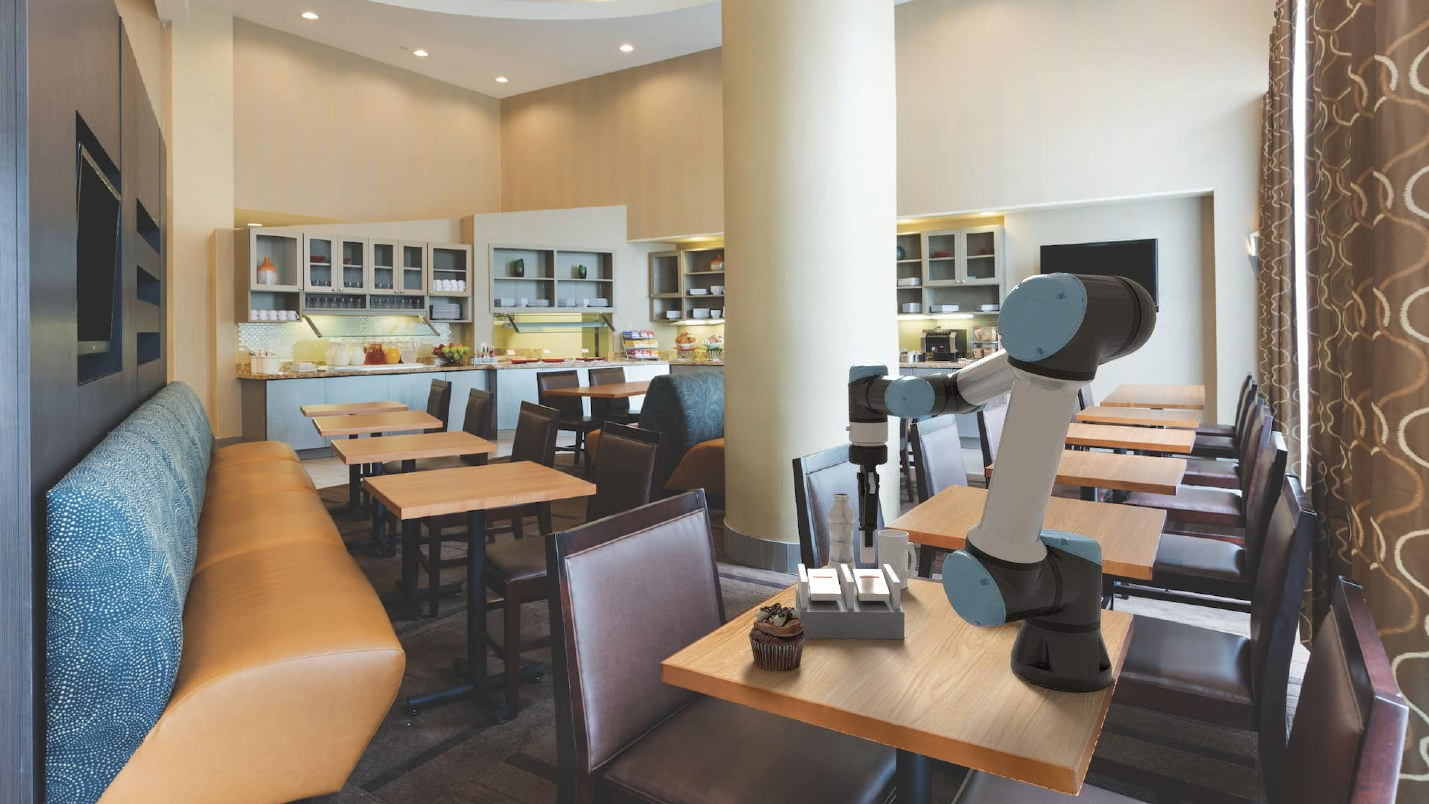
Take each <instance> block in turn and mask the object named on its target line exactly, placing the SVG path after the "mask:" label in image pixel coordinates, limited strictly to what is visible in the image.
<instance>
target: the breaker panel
mask: <svg viewBox="0 0 1429 804" xmlns="http://www.w3.org/2000/svg"><path fill="white" fill-rule="evenodd" d="M883 577H884V579H885V582H886V585H887V588H888V591H889V601H859V597H858V593H857V590H856V586H855V582H854V578H852V576H851V574H850V571H849V569H848V567H847V564H840V581H839V582H840V584H839V588H840V592H841V601H834V600H811V596H810V589H809V582H808V574H807V572H806V567H805V564H804V563H797V585H795V609H798V610H799V618H800V620H801V621H802V624H803V628H804V633H805V639H827V640H828V639H839V640H840V639H842V640H843V639H845V640H846V639H847V640H849V639H850V640H851V639H852V640H857V639H858V640H859V639H860V640H863V639H865V640H905V611H904V609H903V607H902V605H901V589H900V581H899V579H898V578H897V576H896V574H895V573H894V571H893V570H892V568H891V566H890V565H889V564H883Z"/></svg>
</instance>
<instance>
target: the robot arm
mask: <svg viewBox="0 0 1429 804" xmlns="http://www.w3.org/2000/svg"><path fill="white" fill-rule="evenodd" d="M998 313H999V314H998V318H997V334H998V335H999V336H1001V338H1000V339H999V341H1000V345H1001V347H1002V349H1000V350H998V351H996V352H995V353H992V354H990V355H988V356H986V357H983V358H981V359H979V360H978V361H975V362H973V363H971V364H969V365H967V366H965V367H963V368H960V369H959V370H957V371H955V372H952V373H949V374H948V373H947V374H927V375H925V374H922V375H921V374H919V375H890V374H889V368H888V366H887V365H886V364H883V363H882V364H881V363H880V364H879V363H869V364H868V363H867V364H866V363H863V364H862V363H861V364H852V365H851V366H850V368H849V370H848V371H849V372H848V382H847V389H848V391H847V392H848V396H847V397H848V402H847V403H848V424H849V426H846V427H845V431H847V432H848V441H849V442H850V443H849V445H848V462H849V463H850V464H852V465H857V466H859V471H856V480H857V494H858V522H859V526H858V527H857V530H858V531H860V536H859V538H860V539H859V540H860V542H859V545H860V546H859V549H860V550H859V552H860V553H859V557H860V559H859V560H860V563H861V564H876V531H877V529H878V515H879V514H878V509H879V493H880V487H881V486H880V482H881V481H880V473H878V471H877V466H883V465H885V464H887V463H888V461H889V460H888V458H889V457H888V455H889V453H888V452H889V450H888V448H889V447H888V444H886V443H887V442H888V441H889V417H896V418H900V419H905V420H907V419H920V418H923V417H924V416H939V415H942V416H943V415H968V414H973V413H979V412H982V411H983V410H985V408H986V406H987V405H988V404H989V402H992V401H995V400H998V399H1000V398H1002V397H1005V396H1007V395H1009V399H1008V404H1007V407H1006V408H1007V409H1006V412H1005V416H1004V417H1005V418H1004V421H1003V425H1002V429H1001V435H1000V437H999V443H998V446H997V451H996V454H995V459H994V463H993V467H992V471H991V476H990V480H989V484H988V488H987V492H986V495H985V496H986V497H985V502H984V506H983V510H982V513H981V518H980V521H979V522H976V523H975V524H972V525H971V526H970V527H968V530H967V531H966V536H965V540H964V544H963V548H962V550H961V549H956V550H954V551H953V552H952V553H949V554H948V555H947V556H946V557H945V559H944V561H943V563H942V568H941V581H942V585H943V590H944V593H945V595H946V598H947V601H948V602H949V604H950V606H951V607H952V609H953V611H954V612H955V613H956V614H957V616H959V617H960V618H961V620H964V621H965V622H966V623H968V624H970V625H971V626H975V627H977V628H978V627H980V628H985V627H999V626H1003V624H1008V623H1014V622H1018V621H1021V624H1020V627H1019V629H1018V632H1017V635H1016V637H1015V640H1014V643H1013V645H1012V648H1011V651H1010V669H1011V670H1012V672H1014V673H1015V674H1016V675H1017V676H1018V677H1020V678H1021V679H1023V680H1025V681H1028V682H1030V683H1031V684H1035V685H1037V686H1041V687H1045V688H1049V689H1053V690H1060V691H1067V692H1093V691H1099V690H1102V689H1105V688H1107V687H1108V686H1110V685H1111V683H1112V682H1113V681H1112V680H1113V665H1112V662H1111V658H1110V656H1109V652H1108V649H1107V646H1106V644H1105V641H1104V637H1103V634H1102V629H1101V627H1102V626H1101V623H1102V620H1101V619H1102V594H1103V592H1102V591H1103V568H1104V562H1103V552H1102V549H1103V548H1102V547H1101V544H1100V543H1099V542H1098V541H1097V540H1096V539H1095V538H1093V537H1090V536H1087V535H1084V534H1079V533H1075V532H1071V531H1065V530H1061V529H1060V530H1058V529H1051V528H1043V526H1044V522H1045V518H1046V514H1047V511H1048V508H1049V503H1050V499H1051V495H1052V493H1053V492H1052V491H1053V490H1054V489H1053V488H1054V484H1055V482H1056V477H1057V475H1058V474H1057V473H1058V470H1059V466H1060V463H1061V459H1062V456H1063V451H1064V447H1065V444H1066V440H1067V437H1068V432H1069V429H1070V424H1071V422H1072V421H1071V420H1072V417H1073V415H1074V410H1075V406H1076V402H1077V399H1078V398H1077V397H1078V395H1079V391H1080V390H1081V389H1082V388H1083V387H1086V385H1088V384H1090V383H1092V382H1094V381H1095V379H1096V374H1097V370H1098V367H1099V366H1102V365H1105V364H1107V363H1110V362H1112V361H1116V360H1119V359H1121V358H1123V357H1127V356H1129V355H1131V354H1133V353H1135V352H1137V351H1138V350H1140V349H1141V348H1142V347H1143V346H1144V345H1145V344H1146V343H1148V341H1149V340H1150V339H1151V336H1152V334H1153V333H1154V330H1155V328H1156V323H1157V309H1156V304H1155V301H1154V300H1153V297H1152V296H1151V294H1150V293H1149V292H1148V290H1147V289H1146V288H1144V286H1142V285H1141V284H1140V283H1138V282H1137V281H1134V280H1133V279H1130V278H1128V277H1124V276H1119V275H1118V276H1117V275H1111V274H1110V275H1108V274H1107V275H1099V274H1097V275H1096V274H1079V273H1078V274H1077V273H1064V272H1063V273H1062V272H1054V273H1048V274H1045V273H1044V274H1043V273H1042V274H1037V275H1031V276H1029V277H1027V278H1025V279H1024V280H1022V281H1021V282H1019V283H1018V284H1017V285H1015V286H1014V287H1013V288H1012V289H1011V290H1010V292H1009V293H1008V294H1007V296H1006V297H1005V299H1004V300H1003V302H1002V305H1001V307H1000V310H999V312H998ZM888 416H889V417H888Z"/></svg>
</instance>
